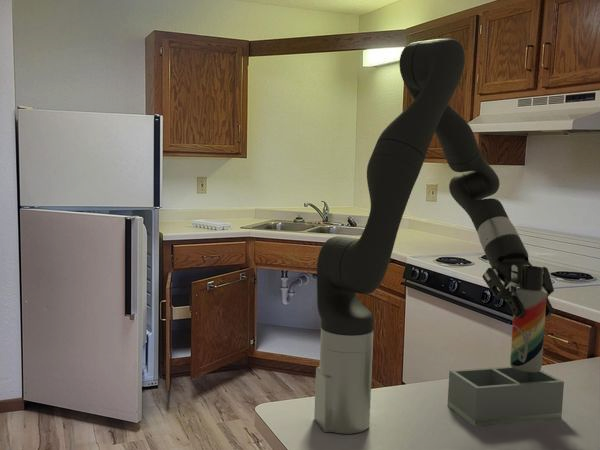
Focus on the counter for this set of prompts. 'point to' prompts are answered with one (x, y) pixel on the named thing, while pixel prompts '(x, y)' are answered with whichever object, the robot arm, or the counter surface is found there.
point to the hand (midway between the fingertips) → (535, 315)
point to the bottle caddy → (504, 395)
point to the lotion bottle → (529, 322)
